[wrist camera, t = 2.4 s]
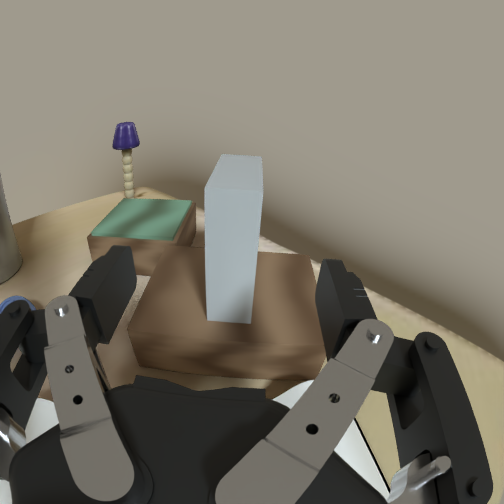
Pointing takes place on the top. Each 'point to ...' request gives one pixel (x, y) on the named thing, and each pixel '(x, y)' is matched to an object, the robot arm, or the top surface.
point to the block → (232, 237)
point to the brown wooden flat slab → (227, 333)
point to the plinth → (145, 230)
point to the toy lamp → (126, 152)
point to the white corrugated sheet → (349, 447)
